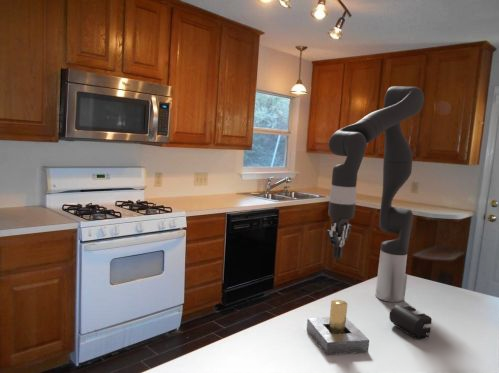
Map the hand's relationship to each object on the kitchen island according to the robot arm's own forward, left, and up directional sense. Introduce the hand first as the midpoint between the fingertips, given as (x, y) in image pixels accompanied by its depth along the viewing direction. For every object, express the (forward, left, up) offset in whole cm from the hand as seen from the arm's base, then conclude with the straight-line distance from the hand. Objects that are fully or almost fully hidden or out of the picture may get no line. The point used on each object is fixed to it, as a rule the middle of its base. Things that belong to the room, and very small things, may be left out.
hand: (337, 257), depth 121 cm
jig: (+3, +9, -21) cm, 23 cm away
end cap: (-22, +7, -21) cm, 31 cm away
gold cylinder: (+3, +9, -21) cm, 23 cm away
